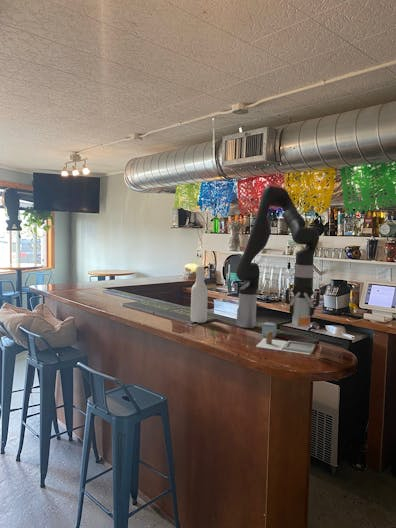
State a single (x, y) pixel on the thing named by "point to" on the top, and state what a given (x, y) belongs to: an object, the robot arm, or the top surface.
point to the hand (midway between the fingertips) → (301, 315)
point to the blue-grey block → (269, 328)
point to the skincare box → (301, 313)
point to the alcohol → (199, 298)
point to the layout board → (286, 345)
